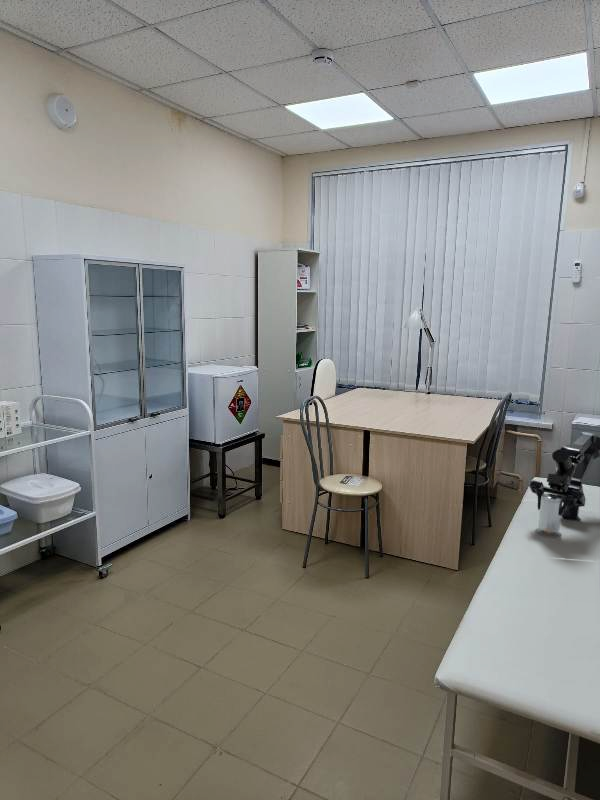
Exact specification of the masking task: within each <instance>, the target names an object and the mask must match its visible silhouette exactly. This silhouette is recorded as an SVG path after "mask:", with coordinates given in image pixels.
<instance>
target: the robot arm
mask: <svg viewBox="0 0 600 800" xmlns="http://www.w3.org/2000/svg"><path fill="white" fill-rule="evenodd" d="M551 457H552V460H553V462H554V465H555V468H556V467H557V471H556V470H555V473H551V472H550V473H548V474H547V478H546V482H547V483H548V484H547V485H548V486H545V485H544V484H543V482H542V481H538V480H531V481H530V483H529V484H528V486H529V488H530V490H531V491H530V492H532V493H533V494H536V496H537V510H538V511H540V506H541V496H542V495H543V494H545V493H547V494H554V495H558V496H560V497H562V508H561V510H560V513H559V515H560V516H561V519H563V520H570V521H571V520H572V521H582V519H581V518H580V516H579V512H580V508H581V507H585V505H586V496H585V493H584V488H583V484H584V482H585V479H586V477H587V476H588V473H589V471H590V469H591V466H592V464H593V462H594V460H596V459H597V458H599V457H600V437H599V436H597V434H596V433H594V432H588V431H583V432H581V434H580V436H579V437H578V438H577V439H576V440H575V441H574V442H573V443H572V444H571V443H570V444H566V445H564V446H560V448H559V449H556V450H555V451H554V452H552V455H551ZM572 463H574V465H573V464H572ZM575 464H576V465H575Z"/></svg>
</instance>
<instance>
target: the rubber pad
mask: <svg viewBox="0 0 600 800" xmlns="http://www.w3.org/2000/svg"><path fill="white" fill-rule="evenodd" d="M534 531H535V534H537V535H538V536H540V537H544V538H547V539H548V538H549V539H558V538H561V537H562V536H563V535H562V534H563V533H561V532H560V531H558V532H553V534H552V535H548V534H545V533H544V530H541V529H540V528H539V527H538V528H536V529H534Z"/></svg>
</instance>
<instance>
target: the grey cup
mask: <svg viewBox="0 0 600 800" xmlns="http://www.w3.org/2000/svg"><path fill="white" fill-rule="evenodd" d="M562 506H563V502H562V497H560V496H558V495H556V494H552V493H544V494H543V495H542V496H541V506H540V510H539V518H538V528H540V529H541V530H544V531H547V532H560V530H561V529H560V528H561V519H562V516H560V515H559V513H560V510H561V508H562Z"/></svg>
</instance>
